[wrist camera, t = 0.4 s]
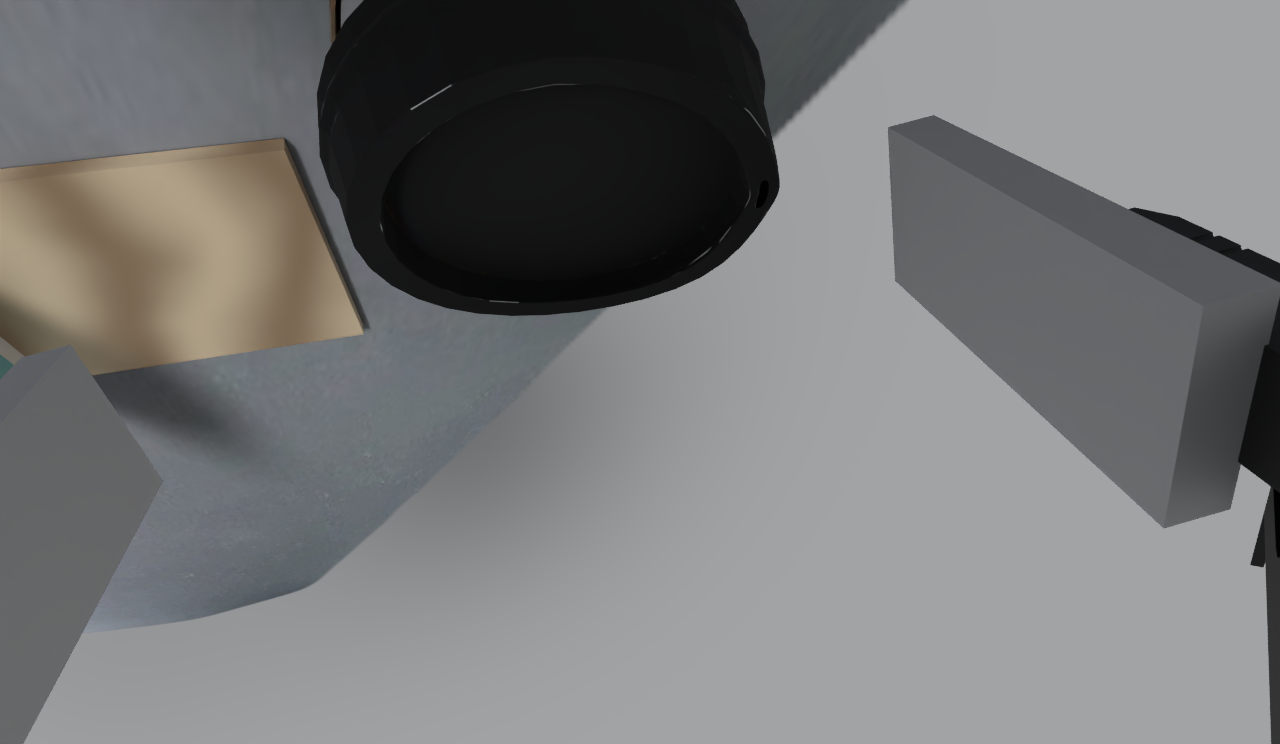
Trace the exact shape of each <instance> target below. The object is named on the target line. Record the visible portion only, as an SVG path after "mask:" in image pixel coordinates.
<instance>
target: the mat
mask: <svg viewBox="0 0 1280 744" xmlns="http://www.w3.org/2000/svg"><path fill="white" fill-rule="evenodd" d="M361 334H364V328H363V323H362V320H361V318H360V316H359V313H358V311H357V309H356V306H355V304H354V302H353V299H352V297H351V295H350V292H349V290H348V288H347V285H346V283H345V281H344V278H343V276H342V274H341V271H340V269H339V267H338V264H337V262H336V260H335V257H334V255H333V253H332V250H331V248H330V245H329V243H328V241H327V238H326V236H325V234H324V231H323V229H322V227H321V224H320V222H319V220H318V217H317V215H316V213H315V210H314V208H313V206H312V203H311V201H310V199H309V196H308V194H307V192H306V189H305V187H304V185H303V182H302V180H301V177H300V175H299V173H298V170H297V168H296V166H295V163H294V161H293V159H292V156H291V154H290V152H289V149H288V147H287V145H286V142H285V140H284V138H280V139H271V140H262V141H253V142H244V143H234V144H225V145H216V146H207V147H198V148H188V149H179V150H170V151H161V152H152V153H142V154H133V155H124V156H115V157H106V158H97V159H87V160H78V161H69V162H60V163H51V164H41V165H32V166H23V167H14V168H5V169H0V337H1V338H3V339H4V340H5V341H6V342H8V343H9V344H10V345H11V346H13V347H14V348H15V349H16V350H18V351H19V352H20V353H21V354H23V355H24V356H25V357H26V356H30V355H33V354H37V353H41V352H45V351H48V350H52V349H56V348H60V347H63V346H67V345H72V347H73V348H74V350H75V351H76V353H77V354H78V356H79V357H80V358H81V360H82V361H83V363H84V364H85V366H86V367H87V369H88V370H89V372H90V373H91V375H98V374H105V373H111V372H118V371H124V370H131V369H138V368H144V367H151V366H157V365H164V364H171V363H177V362H184V361H190V360H197V359H203V358H210V357H217V356H223V355H230V354H236V353H243V352H249V351H256V350H263V349H269V348H276V347H282V346H289V345H296V344H302V343H309V342H315V341H322V340H328V339H335V338H342V337H348V336H355V335H361Z"/></svg>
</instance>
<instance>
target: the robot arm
mask: <svg viewBox="0 0 1280 744" xmlns="http://www.w3.org/2000/svg"><path fill="white" fill-rule="evenodd" d="M888 137H889V158H890V179H891V200H892V221H893V243H894V264H895V281H896V282H897V283H898V284H900V286H902V287H903V288H904V289H905V290H906V291H907V292H908V293H909V294H910V295H911V296H913V297H914V298H915V299H916V300H917V301H918V302H919V303H920V304H921V305H922V306H923V307H924V308H925V309H927V310H928V311H929V312H930V313H931V314H932V315H933V316H934V317H935V318H936V319H937V320H939V321H940V322H941V323H942V324H943V325H944V326H945V327H946V328H947V329H948V330H949V331H950V332H952V333H953V334H954V335H955V336H956V337H957V338H958V339H959V340H960V341H961V342H962V343H963V344H964V345H966V346H967V347H968V348H969V349H970V350H971V351H972V352H973V353H974V354H975V355H976V356H977V357H979V358H980V359H981V360H982V361H983V362H984V363H985V364H986V365H987V366H988V367H989V368H991V369H992V370H993V371H994V372H995V373H996V374H997V375H998V376H999V377H1000V378H1001V379H1002V380H1003V381H1005V382H1006V383H1007V384H1008V385H1009V386H1010V387H1011V388H1013V390H1014V391H1015V392H1017V393H1018V394H1019V395H1020V396H1021V397H1022V398H1023V399H1024V400H1025V401H1026V402H1027V403H1029V404H1030V405H1031V406H1032V407H1033V408H1034V409H1035V410H1036V411H1037V412H1038V413H1039V414H1040V415H1042V416H1043V417H1044V418H1045V419H1046V420H1047V421H1048V422H1049V423H1050V424H1051V425H1052V426H1053V427H1054V428H1056V429H1057V430H1058V431H1059V432H1060V433H1061V434H1062V435H1063V436H1064V437H1065V438H1066V439H1068V440H1069V441H1070V442H1071V443H1072V444H1073V445H1074V446H1075V447H1076V448H1077V449H1078V450H1079V451H1081V452H1082V453H1083V454H1084V455H1085V456H1086V457H1087V458H1088V459H1089V460H1090V461H1091V462H1092V463H1093V464H1095V465H1096V466H1097V467H1098V468H1099V469H1100V470H1101V471H1102V472H1103V473H1104V474H1105V475H1106V476H1108V477H1109V478H1110V479H1111V480H1112V481H1113V482H1114V483H1115V484H1116V485H1117V486H1118V487H1120V488H1121V489H1122V490H1123V491H1124V492H1125V493H1126V494H1127V495H1128V496H1129V497H1130V498H1131V499H1133V500H1134V501H1135V502H1136V503H1137V504H1138V505H1139V506H1140V507H1141V508H1142V509H1143V510H1144V511H1146V512H1147V513H1148V514H1149V515H1150V516H1151V517H1152V518H1153V519H1154V520H1155V521H1156V522H1158V523H1159V524H1160V525H1161V526H1162V527H1163V528H1167V527H1170V526H1174V525H1177V524H1180V523H1184V522H1187V521H1191V520H1194V519H1198V518H1201V517H1205V516H1208V515H1211V514H1215V513H1219V512H1222V511H1225V510H1229V509H1230V508H1231V504H1232V500H1233V495H1234V491H1235V487H1236V482H1237V478H1238V474H1239V470H1240V465H1241V464H1242V465H1243V466H1244V467H1246V468H1247V469H1248V470H1250V471H1251V472H1252V473H1254V474H1255V475H1256V476H1258V477H1259V478H1261V479H1262V480H1263V481H1264V482H1266V483H1267V484H1269V485H1270V486H1271V489H1270V492H1269V496H1268V500H1267V504H1266V507H1265V511H1264V515H1263V519H1262V523H1261V526H1260V530H1259V534H1258V538H1257V542H1256V545H1255V549H1254V553H1253V557H1252V561H1251V565H1254V566H1259V567H1264V564H1265V562H1266V588H1267V590H1266V591H1267V619H1268V620H1267V621H1268V653H1269V685H1270V712H1271V713H1270V716H1271V744H1280V263H1278V262H1276V261H1274V260H1272V259H1269V258H1267V257H1265V256H1263V255H1261V254H1258V253H1256V252H1254V251H1252V250H1250V249H1245V250H1242V249H1241V245H1239V244H1237V243H1235V242H1232V241H1230V240H1228V239H1226V238H1224V237H1222V236H1216V237H1214V236H1213V233H1212V232H1211V231H1209V230H1206V229H1204V228H1202V227H1200V226H1198V225H1195V224H1193V223H1191V222H1189V221H1187V220H1185V219H1182V218H1180V217H1177V216H1172V215H1167V214H1163V213H1157V212H1153V211H1149V210H1143V209H1139V208H1131V209H1126V208H1124V207H1122V206H1120V205H1118V204H1116V203H1114V202H1112V201H1110V200H1108V199H1106V198H1104V197H1101V196H1099V195H1097V194H1095V193H1093V192H1091V191H1089V190H1087V189H1085V188H1083V187H1081V186H1079V185H1077V184H1075V183H1073V182H1070V181H1069V180H1066V179H1064V178H1062V177H1060V176H1058V175H1056V174H1054V173H1052V172H1050V171H1048V170H1046V169H1043V168H1042V167H1040V166H1037V165H1035V164H1033V163H1031V162H1029V161H1027V160H1025V159H1023V158H1021V157H1019V156H1017V155H1015V154H1013V153H1010V152H1009V151H1007V150H1004V149H1002V148H1000V147H998V146H996V145H994V144H992V143H990V142H988V141H986V140H984V139H982V138H980V137H977V136H975V135H973V134H971V133H969V132H967V131H965V130H963V129H961V128H959V127H957V126H955V125H953V124H951V123H949V122H947V121H945V120H942V119H940V118H938V117H936V116H934V115H933V116H929V117H925V118H922V119H918V120H914V121H910V122H907V123H903V124H899V125H895V126H892V127H889V128H888ZM162 482H163V480H162V478H161V477H160V475H159V474H158V472H157V471H156V470H155V468H154V467H153V465H152V464H151V462H150V461H149V459H148V458H147V456H146V455H145V453H144V452H143V450H142V449H141V447H140V446H139V444H138V443H137V441H136V440H135V438H134V437H133V435H132V434H131V433H130V431H129V430H128V428H127V427H126V425H125V424H124V422H123V421H122V419H121V418H120V416H119V415H118V413H117V412H116V410H115V409H114V407H113V406H112V404H111V403H110V401H109V400H108V398H107V397H106V396H105V394H104V393H103V391H102V390H101V388H100V387H99V385H98V384H97V382H96V381H95V379H94V378H93V376H92V375H91V373H90V372H89V370H88V369H87V367H86V366H85V364H84V363H83V361H82V360H81V358H80V357H79V356H78V354H77V353H76V351H75V350H74V348H73V347H72V345H67V346H63V347H60V348H56V349H52V350H48V351H45V352H41V353H37V354H33V355H30V356H26V357H22V358H20V360H19V361H18V362H17V363H16V364H15V365H14V366H13V367H12V368H11V369H10V370H9V371H8V372H7V373H6V374H5V375H4V376H3V377H2V378H1V379H0V744H23V743H24V741H25V739H26V737H27V736H28V734H29V732H30V730H31V728H32V726H33V724H34V722H35V721H36V719H37V717H38V715H39V713H40V711H41V709H42V707H43V705H44V703H45V702H46V700H47V698H48V696H49V694H50V692H51V691H52V689H53V687H54V685H55V683H56V681H57V679H58V677H59V676H60V674H61V672H62V670H63V668H64V666H65V664H66V662H67V661H68V659H69V657H70V654H71V653H72V651H73V649H74V647H75V645H76V644H77V642H78V640H79V638H80V636H81V634H82V632H83V630H84V629H85V627H86V625H87V623H88V621H89V619H90V617H91V615H92V614H93V612H94V610H95V608H96V606H97V604H98V602H99V600H100V599H101V597H102V595H103V593H104V591H105V589H106V587H107V585H108V584H109V582H110V580H111V578H112V576H113V574H114V572H115V570H116V569H117V567H118V565H119V563H120V561H121V559H122V557H123V555H124V554H125V552H126V550H127V548H128V546H129V544H130V542H131V540H132V538H133V537H134V535H135V533H136V531H137V529H138V527H139V525H140V523H141V522H142V520H143V518H144V516H145V514H146V512H147V510H148V508H149V507H150V505H151V503H152V501H153V499H154V497H155V495H156V493H157V492H158V490H159V488H160V486H161V484H162Z"/></svg>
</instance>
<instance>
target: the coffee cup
mask: <svg viewBox="0 0 1280 744" xmlns="http://www.w3.org/2000/svg"><path fill="white" fill-rule="evenodd" d="M330 39H331V43H332V46H331V48H330V49H329V51H328V53H327V55H326V57H325V61H324V66H323V70H322V74H321V78H320V83H319V87H318V91H317V104H318V127H319V146H320V158H321V161H322V164H323V167H324V170H325V173H326V176H327V179H328V182H329V184H330V187H331V189H332V190H333V192H334V193H335V195H336V196H337V197H338V199H339V201H340V204H341V208H342V211H343V214H344V218H345V221H346V224H347V227H348V230H349V233H350V236H351V239H352V242H353V245H354V247H355V249H356V250H357V251H358V253H359V254H360V255H361V257H362V258H363V259H364V261H365V262H366V263H367V265H368V266H369V267H370V269H372V270H373V271H374V272H375V273H377V274H378V275H379V276H381V277H382V278H383V279H384V280H386V281H387V282H388V283H389V284H391V285H392V286H394V287H396V288H398V289H400V290H402V291H404V292H406V293H407V294H409V295H411V296H413V297H415V298H417V299H420V300H423V301H426V302H429V303H433V304H436V305H439V306H442V307H445V308H449V309H455V310H461V311H467V312H473V313H478V314H494V315H509V316H520V315H550V314H561V313H571V312H581V311H587V310H593V309H599V308H606V307H612V306H616V305H621V304H625V303H629V302H634V301H638V300H642V299H646V298H649V297H652V296H655V295H658V294H661V293H664V292H667V291H670V290H673V289H676V288H678V287H681V286H683V285H685V284H687V283H689V282H692V281H694V280H696V279H698V278H700V277H702V276H704V275H705V274H707V273H708V272H710V271H711V270H713V269H714V268H716V267H717V266H719V265H720V264H722V263H723V262H724V261H726V259H728V258H729V257H730V256H731V255H732V254H733V253H734V252H735V251H736V250H738V249H739V248H740V247H741V246H742V245H743V243H744V242H745V241H746V240H747V239H748V238H749V236H750V235H751V234H752V233H753V232H754V230H755V229H756V228H757V226H758V225H759V223H760V222H761V221H762V219H763V218H764V216H765V215H766V213H767V212H768V210H769V209H770V207H771V205H772V204H773V202H774V201H775V199H776V197H777V194H778V191H779V187H780V186H779V173H778V165H777V159H776V154H775V149H774V145H773V141H772V136H771V132H770V128H769V124H768V119H767V115H766V110H765V106H764V93H765V80H764V75H763V71H762V66H761V61H760V57H759V52H758V50H757V48H756V46H755V44H754V42H753V40H752V39H751V37H750V35H749V30H748V26H747V23H746V21H745V19H744V17H743V15H742V13H741V11H740V9H739V7H738V5H737V4H736V2H735V0H330Z"/></svg>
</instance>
